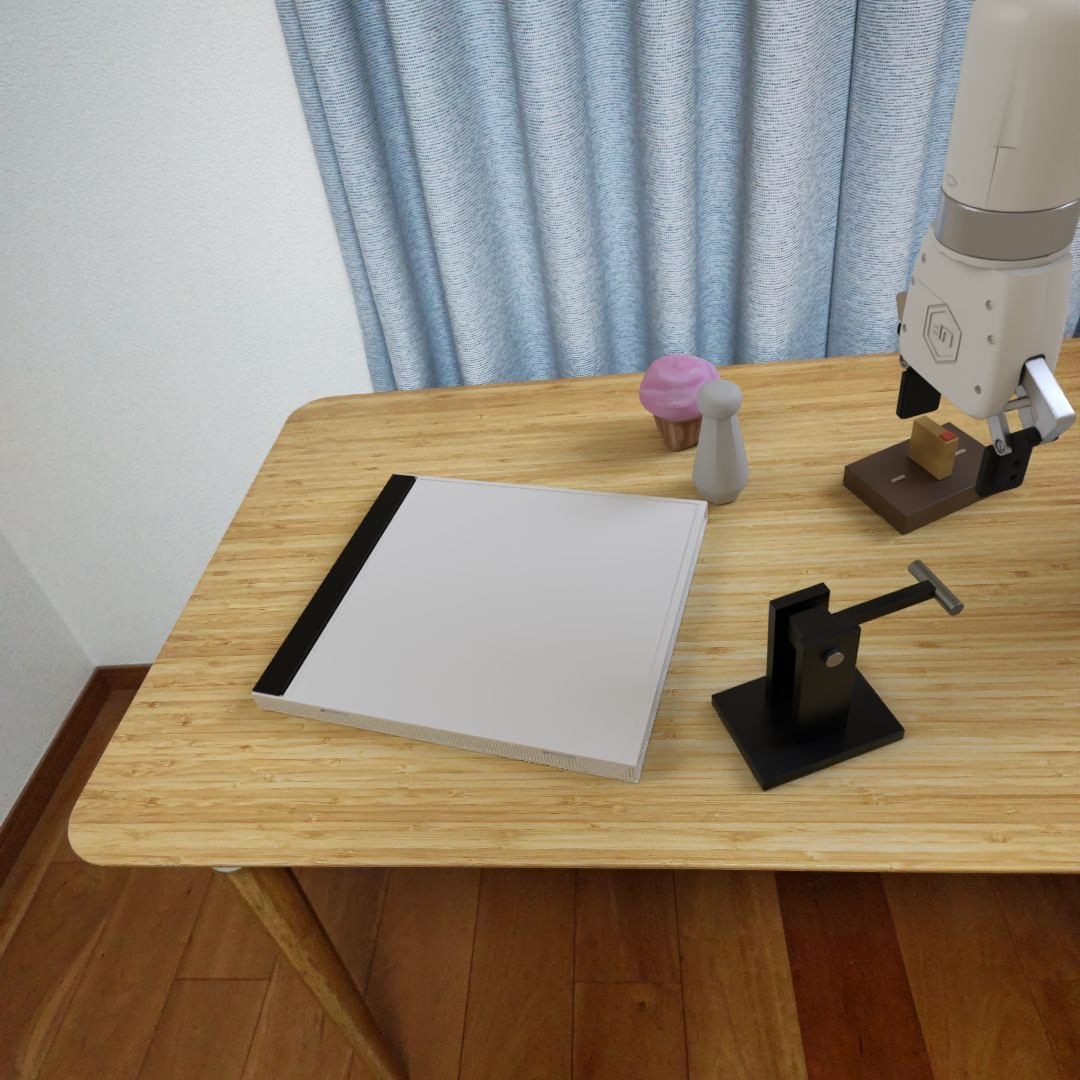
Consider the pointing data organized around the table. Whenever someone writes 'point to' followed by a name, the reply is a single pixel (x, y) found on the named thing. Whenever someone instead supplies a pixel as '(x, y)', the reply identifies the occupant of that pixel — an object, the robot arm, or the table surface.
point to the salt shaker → (720, 444)
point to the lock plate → (915, 483)
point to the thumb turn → (932, 447)
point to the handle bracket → (805, 700)
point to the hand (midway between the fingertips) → (954, 449)
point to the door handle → (876, 605)
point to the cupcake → (676, 396)
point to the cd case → (498, 621)
